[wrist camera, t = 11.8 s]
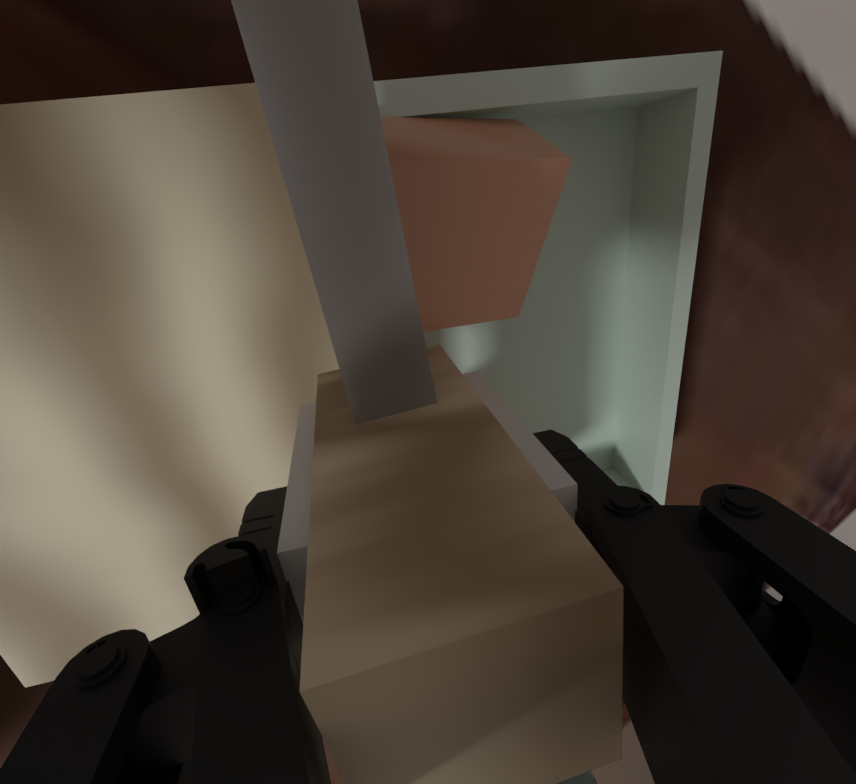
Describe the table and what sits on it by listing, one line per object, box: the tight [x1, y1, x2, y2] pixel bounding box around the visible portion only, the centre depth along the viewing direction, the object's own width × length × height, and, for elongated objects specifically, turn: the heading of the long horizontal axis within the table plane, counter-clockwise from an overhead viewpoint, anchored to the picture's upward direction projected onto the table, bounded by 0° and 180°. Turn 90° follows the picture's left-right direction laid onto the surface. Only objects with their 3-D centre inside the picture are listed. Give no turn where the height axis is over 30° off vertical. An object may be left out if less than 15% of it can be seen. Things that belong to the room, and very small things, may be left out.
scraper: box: [231, 0, 624, 784], centre depth 11 cm, size 4×20×10 cm, turn 11°
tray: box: [373, 51, 723, 505], centre depth 20 cm, size 14×20×4 cm
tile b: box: [380, 116, 573, 332], centre depth 16 cm, size 6×6×4 cm
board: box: [0, 83, 340, 688], centre depth 18 cm, size 16×20×5 cm
